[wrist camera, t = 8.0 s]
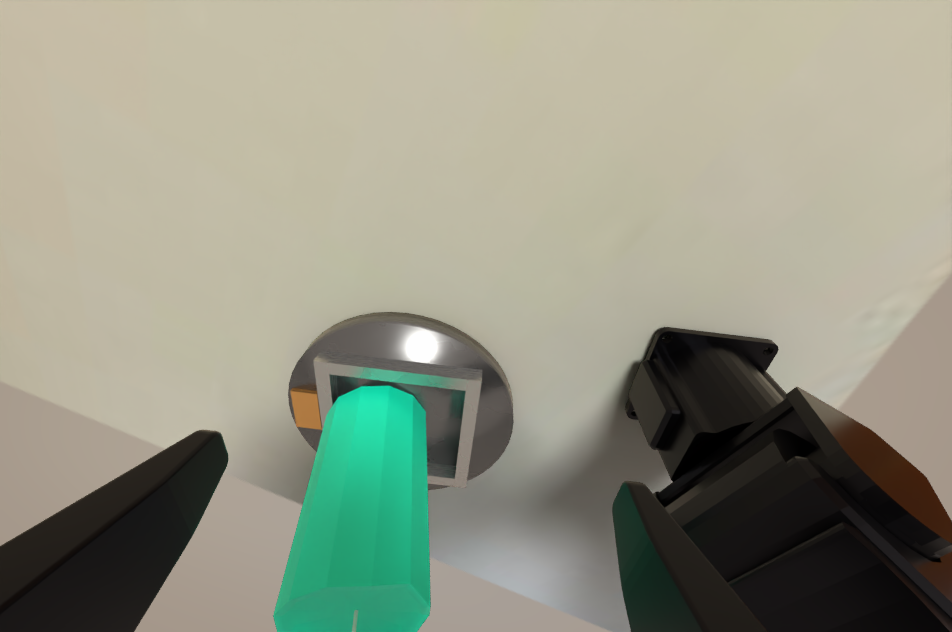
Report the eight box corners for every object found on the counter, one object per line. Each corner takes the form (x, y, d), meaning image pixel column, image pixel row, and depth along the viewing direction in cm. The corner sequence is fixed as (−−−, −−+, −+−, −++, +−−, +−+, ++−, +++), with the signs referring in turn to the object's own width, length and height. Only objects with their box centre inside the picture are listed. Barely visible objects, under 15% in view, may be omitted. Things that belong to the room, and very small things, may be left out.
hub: (530, 328, 22) (533, 351, 20) (497, 485, 29) (496, 513, 27) (282, 297, 22) (261, 317, 20) (309, 463, 29) (296, 489, 27)
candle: (380, 467, 26) (357, 715, 16) (304, 424, 23) (218, 692, 13) (447, 420, 25) (467, 661, 15) (374, 367, 22) (337, 622, 12)
